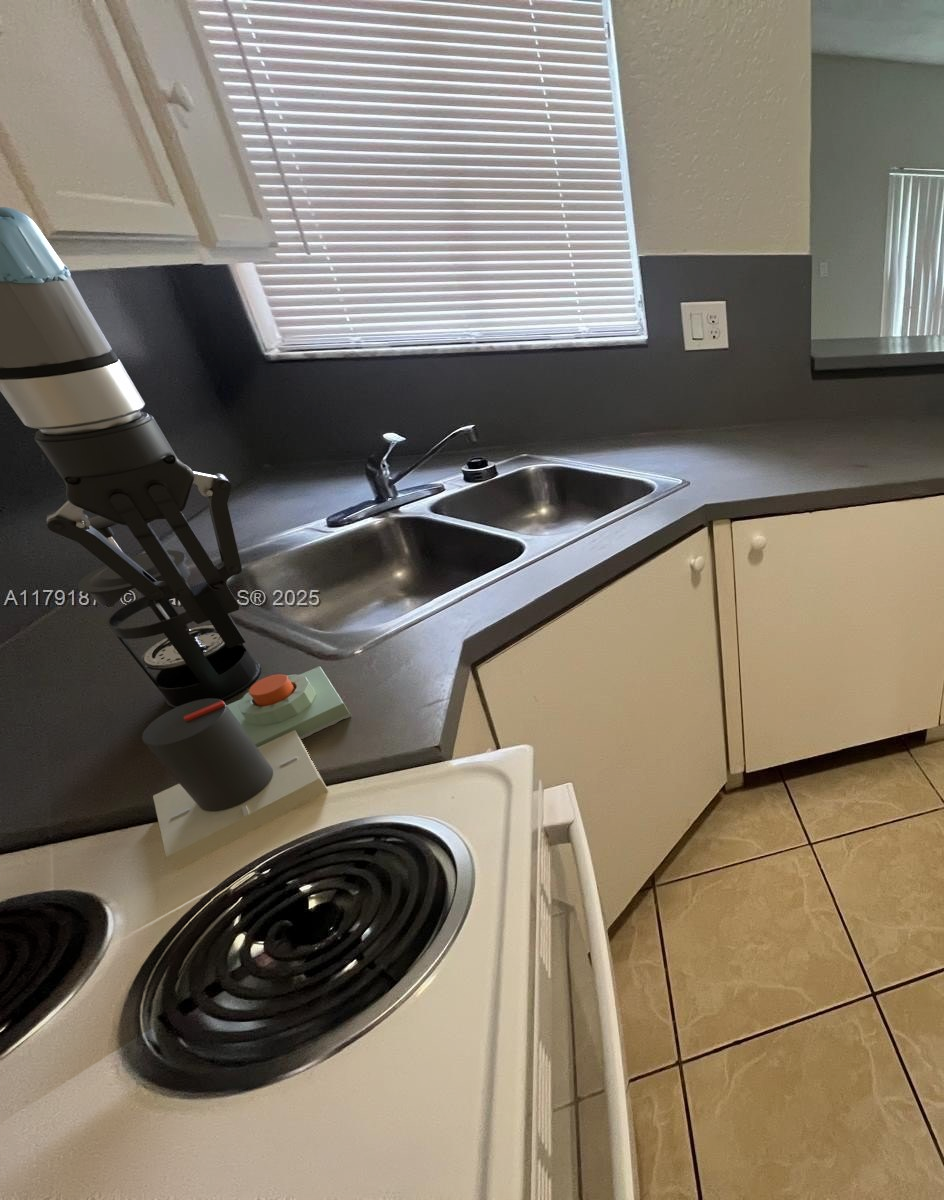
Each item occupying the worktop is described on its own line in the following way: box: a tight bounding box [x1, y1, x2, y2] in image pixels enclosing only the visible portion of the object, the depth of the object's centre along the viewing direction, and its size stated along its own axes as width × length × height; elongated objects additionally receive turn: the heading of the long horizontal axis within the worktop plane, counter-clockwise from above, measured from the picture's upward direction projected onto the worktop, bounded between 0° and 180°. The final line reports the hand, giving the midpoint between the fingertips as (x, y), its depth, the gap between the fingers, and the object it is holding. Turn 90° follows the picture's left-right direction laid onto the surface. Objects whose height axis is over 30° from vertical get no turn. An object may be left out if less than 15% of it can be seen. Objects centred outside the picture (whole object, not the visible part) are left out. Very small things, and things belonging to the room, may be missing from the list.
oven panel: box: [152, 730, 329, 871], centre depth 63 cm, size 10×12×2 cm
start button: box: [248, 673, 295, 707], centre depth 71 cm, size 4×4×2 cm
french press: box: [77, 515, 262, 710], centre depth 72 cm, size 12×9×23 cm
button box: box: [226, 665, 351, 747], centre depth 72 cm, size 10×10×4 cm
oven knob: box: [141, 698, 273, 811], centre depth 60 cm, size 6×6×9 cm
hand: (234, 640), depth 67 cm, fingers closed
